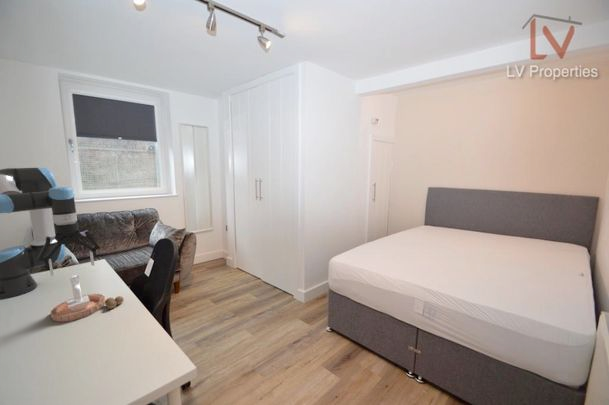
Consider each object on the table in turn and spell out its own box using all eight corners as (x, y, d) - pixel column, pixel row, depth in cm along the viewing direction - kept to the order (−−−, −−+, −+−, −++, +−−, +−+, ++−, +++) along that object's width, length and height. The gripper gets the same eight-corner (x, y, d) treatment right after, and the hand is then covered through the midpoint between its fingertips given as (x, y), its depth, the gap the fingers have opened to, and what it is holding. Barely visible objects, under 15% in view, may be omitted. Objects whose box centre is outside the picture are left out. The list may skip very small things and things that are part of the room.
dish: (49, 311, 116) (48, 305, 115) (100, 295, 129) (100, 290, 129) (54, 328, 103) (52, 321, 103) (110, 308, 117) (109, 302, 117)
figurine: (69, 315, 110) (64, 283, 108) (67, 307, 117) (62, 276, 115) (91, 308, 116) (86, 277, 113) (88, 301, 122) (83, 271, 120)
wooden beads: (104, 305, 120) (103, 298, 119) (121, 299, 125) (120, 292, 124) (108, 311, 115) (107, 303, 114) (126, 304, 120) (125, 297, 119)
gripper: (23, 230, 99) (33, 281, 102) (104, 219, 117) (109, 263, 121) (23, 227, 104) (32, 276, 107) (100, 217, 122) (105, 259, 125)
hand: (73, 269), depth 114 cm, fingers open, 13 cm apart
